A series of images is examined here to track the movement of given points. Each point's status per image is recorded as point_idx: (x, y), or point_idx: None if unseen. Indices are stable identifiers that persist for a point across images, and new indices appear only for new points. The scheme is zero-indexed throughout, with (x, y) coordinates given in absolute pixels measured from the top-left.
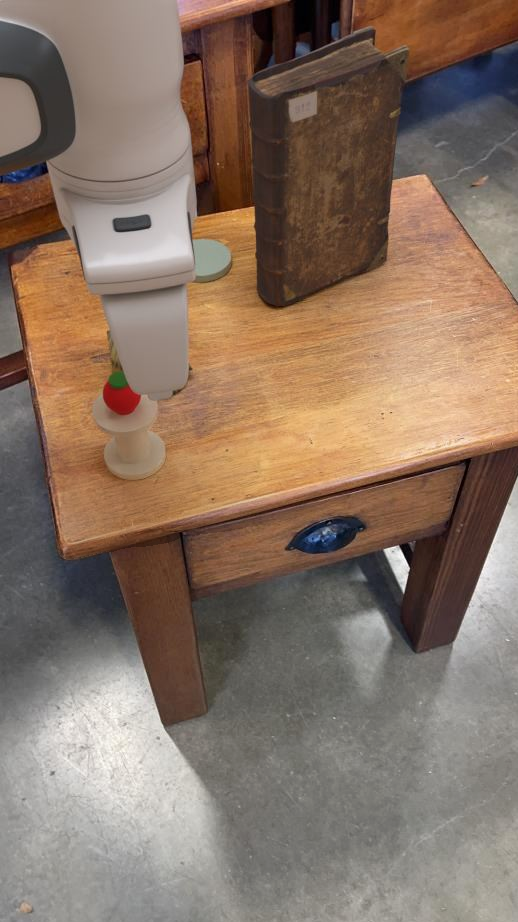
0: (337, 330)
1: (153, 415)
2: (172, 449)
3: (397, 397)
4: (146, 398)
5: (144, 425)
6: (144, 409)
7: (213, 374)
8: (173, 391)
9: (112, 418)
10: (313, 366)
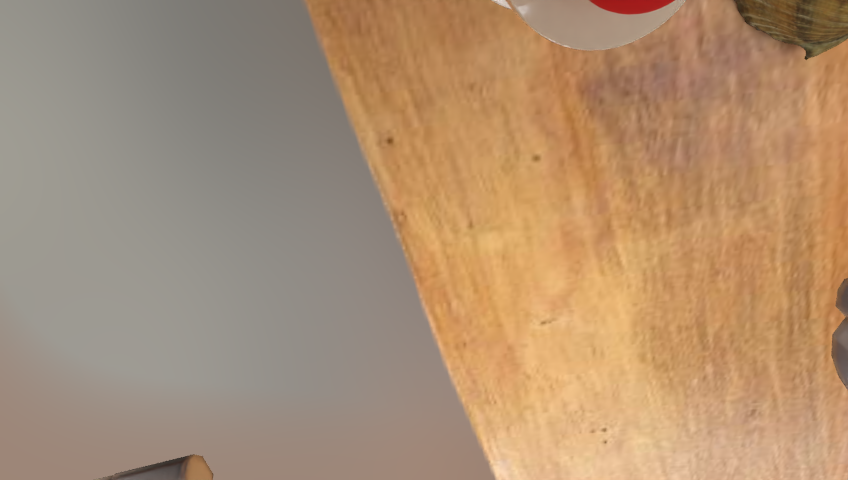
0: None
1: (562, 42)
2: None
3: (641, 449)
4: None
5: (521, 16)
6: (591, 8)
7: (784, 102)
8: (745, 7)
9: None
10: (754, 311)
